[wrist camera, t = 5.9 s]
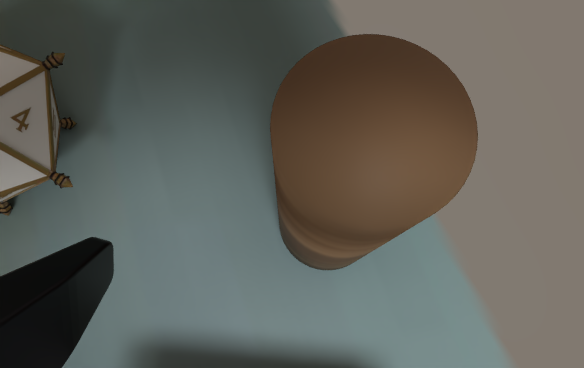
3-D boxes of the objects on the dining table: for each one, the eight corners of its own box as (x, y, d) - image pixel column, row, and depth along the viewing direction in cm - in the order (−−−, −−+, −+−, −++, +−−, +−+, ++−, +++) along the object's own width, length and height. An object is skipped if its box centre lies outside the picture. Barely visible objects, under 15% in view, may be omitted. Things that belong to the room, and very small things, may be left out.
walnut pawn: (371, 274, 21) (479, 238, 9) (275, 265, 21) (260, 218, 9) (376, 180, 22) (476, 42, 10) (283, 172, 22) (280, 25, 10)
